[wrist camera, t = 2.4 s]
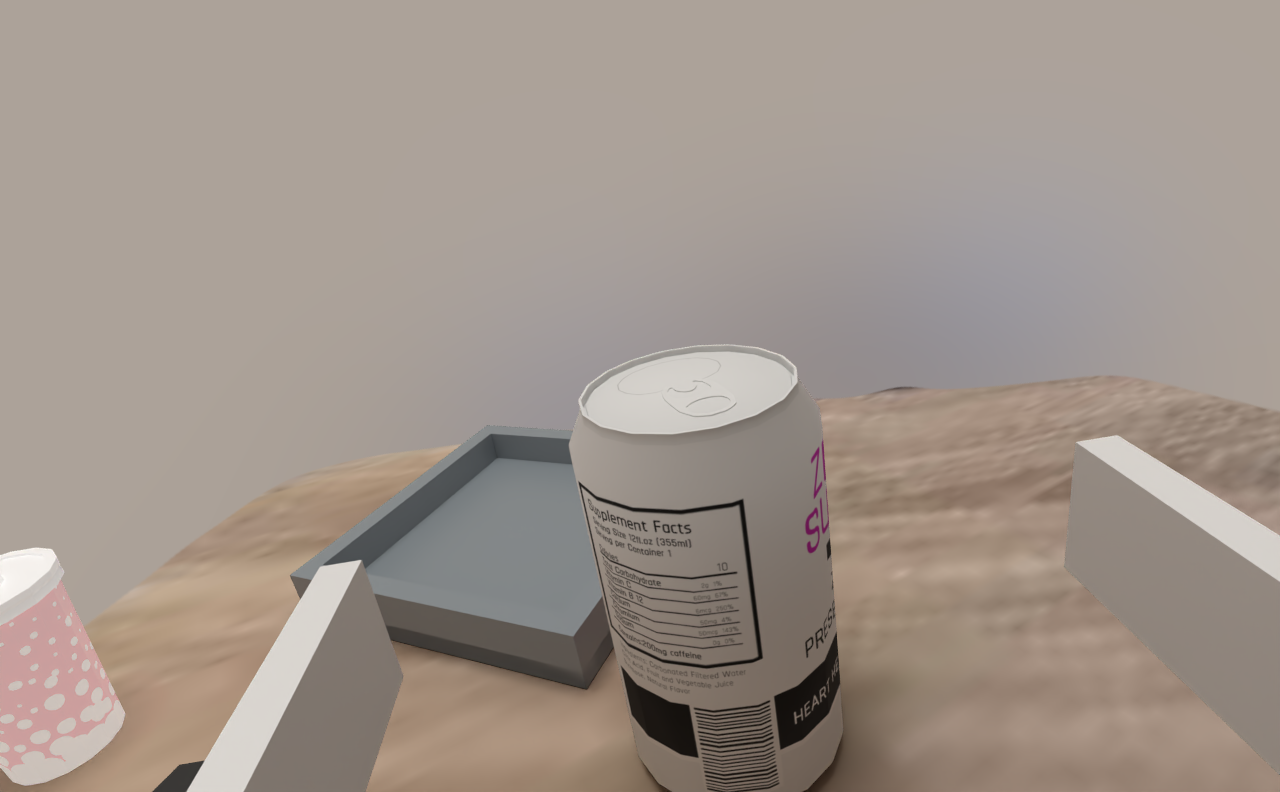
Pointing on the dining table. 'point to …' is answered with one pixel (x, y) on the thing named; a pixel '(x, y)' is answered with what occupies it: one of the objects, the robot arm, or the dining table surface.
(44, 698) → the beverage cup
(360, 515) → the dining table surface
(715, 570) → the supplement can
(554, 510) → the tray
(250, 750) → the robot arm
